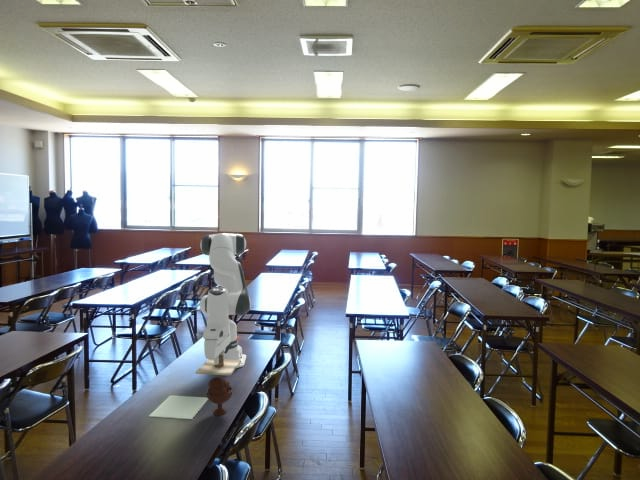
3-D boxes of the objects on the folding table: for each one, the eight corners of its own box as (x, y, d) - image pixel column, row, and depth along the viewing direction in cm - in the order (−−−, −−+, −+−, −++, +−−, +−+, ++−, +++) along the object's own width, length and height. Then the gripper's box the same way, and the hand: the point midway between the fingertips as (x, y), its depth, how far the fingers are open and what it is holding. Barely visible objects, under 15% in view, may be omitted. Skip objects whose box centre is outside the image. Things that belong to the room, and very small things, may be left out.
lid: (209, 360, 177) (208, 349, 177) (241, 362, 176) (240, 350, 175) (195, 373, 164) (195, 361, 163) (230, 375, 162) (230, 363, 162)
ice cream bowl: (227, 420, 165) (226, 383, 164) (201, 417, 167) (200, 381, 166) (237, 407, 175) (237, 372, 174) (213, 404, 178) (212, 370, 176)
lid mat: (170, 396, 185) (170, 395, 185) (209, 398, 183) (209, 397, 183) (149, 416, 168) (148, 415, 168) (191, 419, 165) (191, 418, 165)
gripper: (220, 321, 179) (220, 352, 180) (201, 335, 159) (201, 371, 160) (234, 321, 178) (234, 353, 179) (217, 336, 158) (217, 371, 159)
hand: (219, 361), depth 169 cm, fingers closed on lid, 4 cm apart
